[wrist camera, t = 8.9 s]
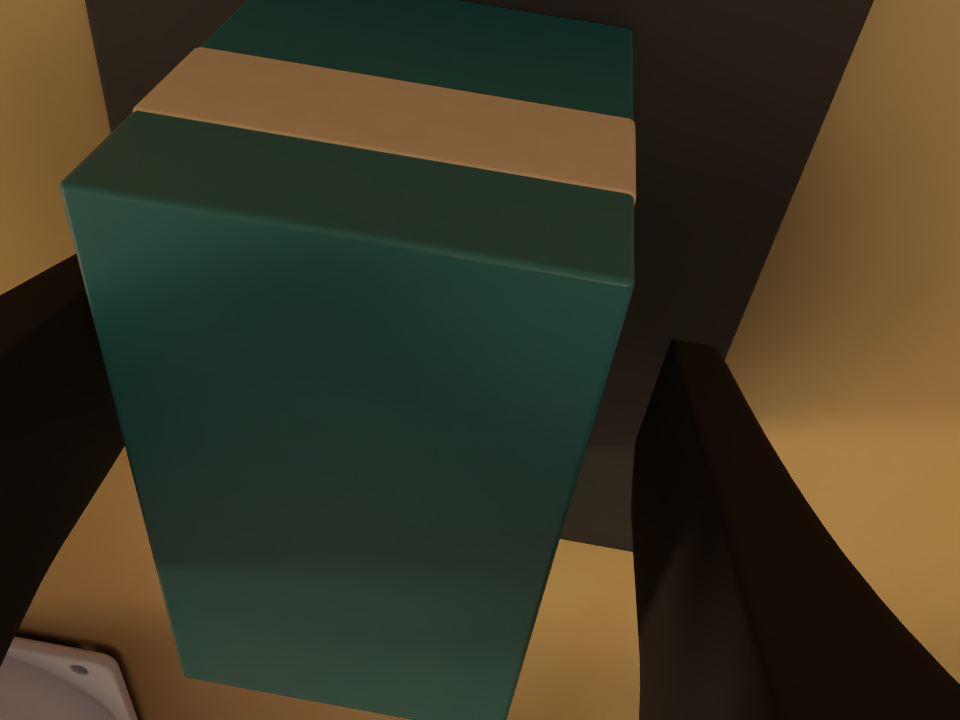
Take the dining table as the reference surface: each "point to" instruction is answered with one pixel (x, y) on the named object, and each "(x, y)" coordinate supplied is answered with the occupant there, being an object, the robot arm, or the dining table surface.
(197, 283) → the tea packet
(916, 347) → the dining table surface
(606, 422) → the rubber mat
